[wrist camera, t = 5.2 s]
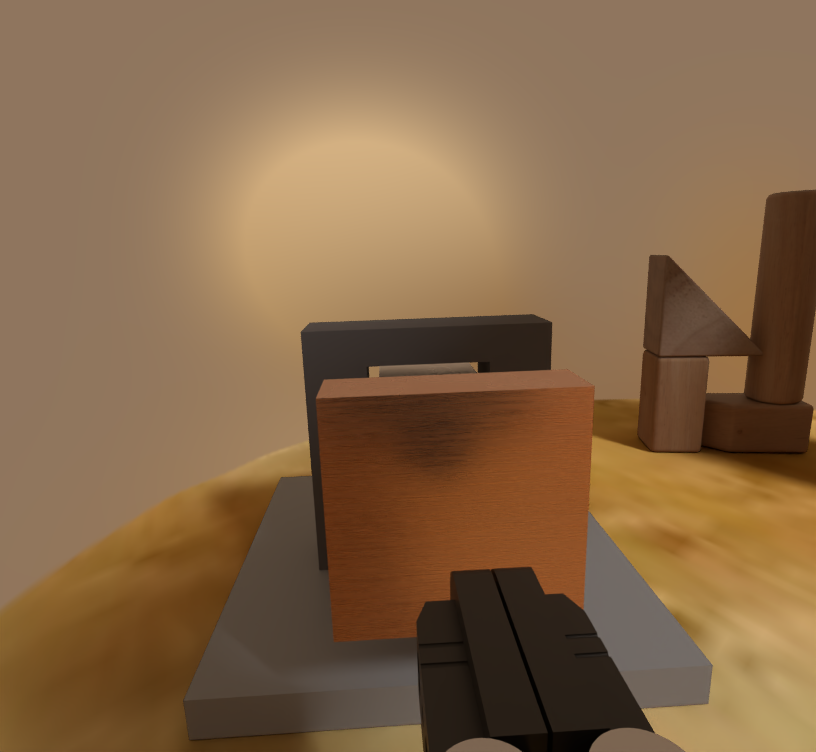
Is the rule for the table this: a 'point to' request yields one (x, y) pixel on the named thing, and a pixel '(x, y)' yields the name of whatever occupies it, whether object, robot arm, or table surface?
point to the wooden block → (734, 347)
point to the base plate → (389, 641)
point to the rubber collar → (412, 360)
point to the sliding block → (449, 486)
